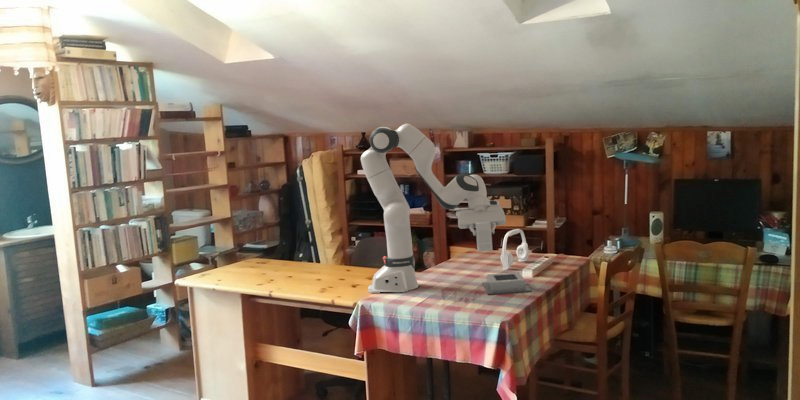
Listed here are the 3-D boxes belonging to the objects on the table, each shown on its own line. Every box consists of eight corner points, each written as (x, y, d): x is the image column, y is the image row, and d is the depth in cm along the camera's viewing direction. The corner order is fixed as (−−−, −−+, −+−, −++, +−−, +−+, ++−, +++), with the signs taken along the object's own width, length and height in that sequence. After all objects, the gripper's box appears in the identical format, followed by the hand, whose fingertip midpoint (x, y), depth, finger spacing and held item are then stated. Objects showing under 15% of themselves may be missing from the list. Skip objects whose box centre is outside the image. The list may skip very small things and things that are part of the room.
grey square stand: (488, 295, 266) (487, 284, 266) (482, 284, 284) (481, 273, 284) (531, 291, 266) (531, 281, 266) (522, 281, 284) (522, 270, 284)
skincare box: (491, 248, 275) (489, 221, 273) (492, 250, 270) (491, 222, 269) (476, 250, 275) (475, 222, 273) (478, 252, 270) (476, 223, 269)
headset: (510, 271, 303) (509, 234, 301) (497, 269, 308) (495, 233, 306) (531, 262, 318) (530, 226, 316) (519, 261, 323) (517, 225, 321)
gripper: (455, 205, 277) (459, 231, 268) (502, 201, 277) (508, 227, 268) (455, 214, 282) (459, 240, 273) (502, 209, 282) (507, 235, 273)
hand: (484, 233), depth 271 cm, fingers closed on skincare box, 6 cm apart
